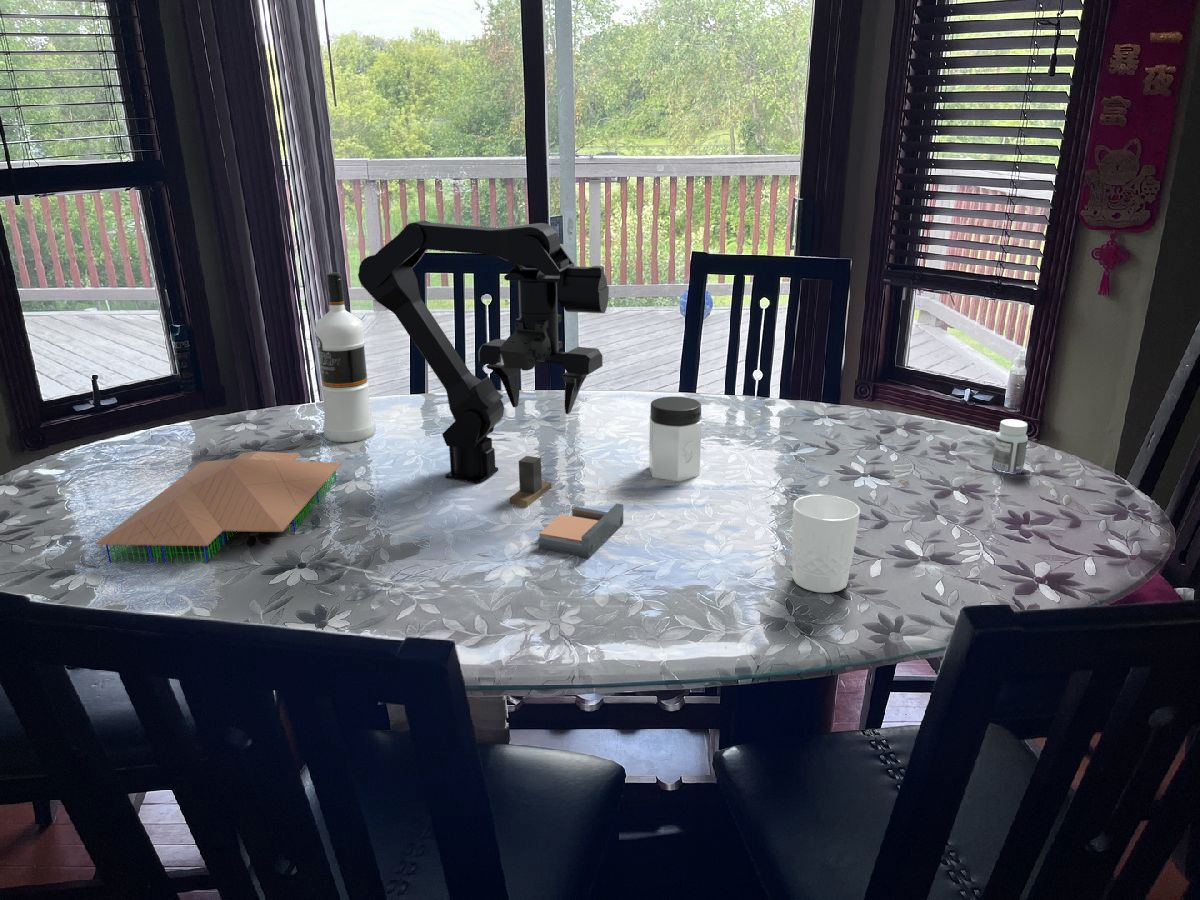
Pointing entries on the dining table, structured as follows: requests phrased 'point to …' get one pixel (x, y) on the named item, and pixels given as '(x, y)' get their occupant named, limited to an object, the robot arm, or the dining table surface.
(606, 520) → the grey u-shaped frame
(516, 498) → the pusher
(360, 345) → the vodka
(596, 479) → the dining table surface
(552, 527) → the tile
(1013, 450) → the pill bottle
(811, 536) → the white cup
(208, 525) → the house
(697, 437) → the jar
